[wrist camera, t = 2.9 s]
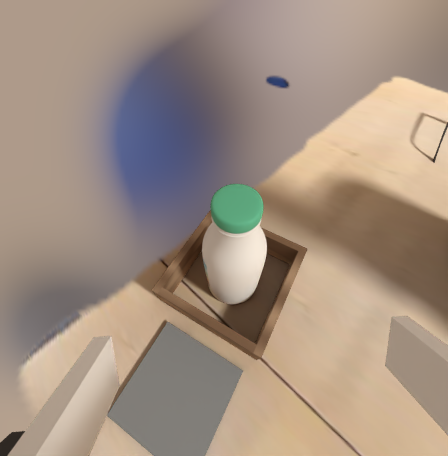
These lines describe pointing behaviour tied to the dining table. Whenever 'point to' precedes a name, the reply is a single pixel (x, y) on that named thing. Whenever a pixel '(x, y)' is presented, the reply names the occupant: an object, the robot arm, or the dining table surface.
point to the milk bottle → (234, 244)
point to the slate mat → (176, 396)
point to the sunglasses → (440, 142)
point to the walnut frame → (164, 292)
